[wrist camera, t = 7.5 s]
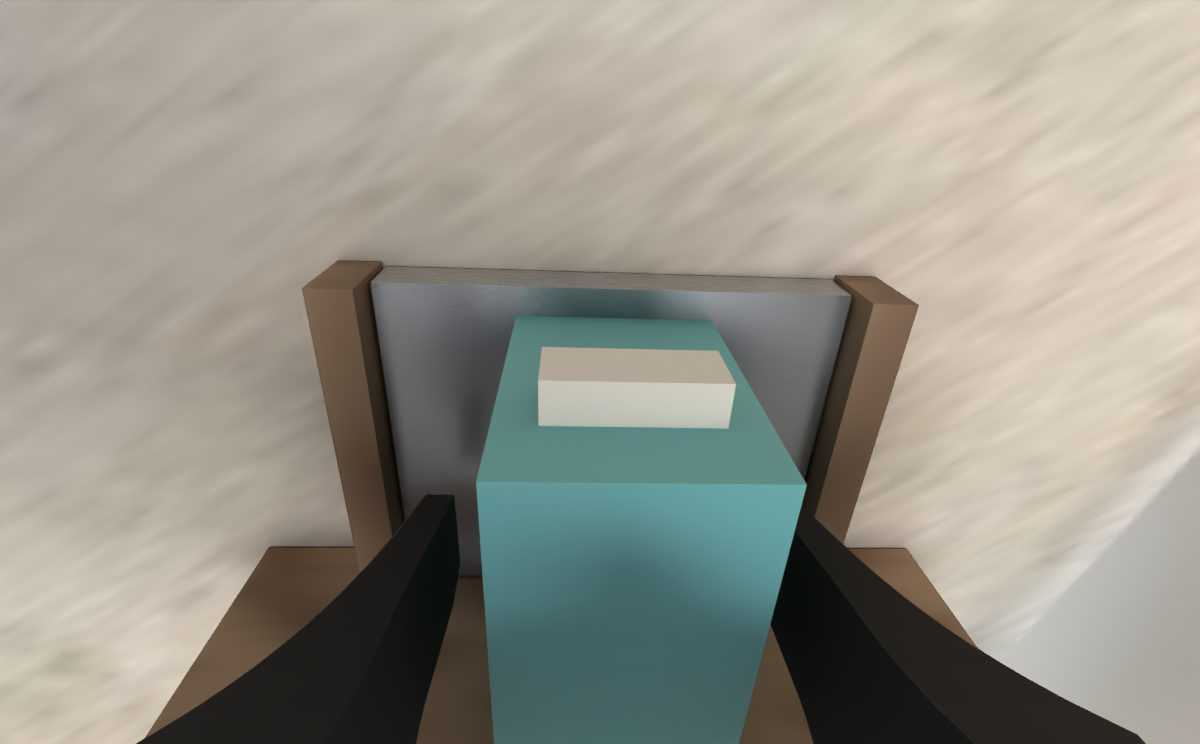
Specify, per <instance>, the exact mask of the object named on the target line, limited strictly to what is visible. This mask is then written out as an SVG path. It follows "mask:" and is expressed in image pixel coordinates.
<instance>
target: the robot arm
mask: <svg viewBox="0 0 1200 744" xmlns="http://www.w3.org/2000/svg"><path fill="white" fill-rule="evenodd" d="M459 568H460V552H459V541H458V530H457V519H456V508H455V498H454V495H428V494H427V495H426V496H425V497H424V498H422V500H421V501H420V502H419V504H418V505H417V506H416V507H415V509H414V510H413V511H412V513H411V514H410V515H409V516H408V518H407V519H406V520H405V521H404V523H403V524H402V525H401V526H400V528H399V529H398V530H397V531H396V532H395V534H394V535H393V536H392V537H391V538H390V540H389V541H388V542H387V543H386V544H385V545H384V546H383V548H382V549H381V550H380V551H379V552H378V553H377V554H376V556H375V557H374V558H373V559H372V560H371V561H370V562H369V564H368V565H367V566H366V567H365V568H364V569H363V570H362V571H361V572H360V573H359V574H358V575H357V576H356V577H355V578H354V579H353V580H352V581H351V582H350V583H349V584H348V585H347V587H346V588H345V589H344V590H343V591H342V592H341V593H340V594H339V595H338V596H337V597H336V598H335V599H334V600H332V601H331V602H330V603H329V604H328V605H327V606H326V607H325V608H324V609H323V610H322V611H321V612H320V613H319V614H318V615H316V616H315V617H314V618H313V619H312V620H311V621H310V622H309V623H307V624H306V625H305V626H304V627H303V628H302V629H301V630H299V631H298V632H297V633H296V634H295V635H293V636H292V637H291V638H290V639H288V640H287V641H286V642H285V643H284V644H282V645H281V646H280V647H279V648H277V649H276V650H275V651H274V652H272V653H271V654H270V655H269V656H267V657H266V658H265V659H264V660H262V661H261V662H260V663H258V664H257V665H256V666H255V667H253V668H252V669H251V670H249V671H248V672H246V673H245V674H244V675H242V676H241V677H239V678H238V679H236V680H235V681H234V682H232V683H231V684H229V685H228V686H227V687H225V688H224V689H222V690H221V691H219V692H218V693H216V694H215V695H213V696H212V697H210V698H209V699H207V700H206V701H204V702H203V703H201V704H200V705H198V706H197V707H195V708H194V709H192V710H191V711H189V712H188V713H186V714H184V715H183V716H181V717H180V718H178V719H176V720H175V721H173V722H171V723H170V724H168V725H166V726H165V727H163V728H161V729H160V730H158V731H156V732H155V733H153V734H151V735H150V736H148V737H146V738H145V739H143V740H142V741H140V742H138V743H137V744H416V742H417V737H418V732H419V726H420V722H421V718H422V714H423V710H424V706H425V702H426V699H427V695H428V692H429V688H430V685H431V681H432V678H433V674H434V671H435V667H436V664H437V660H438V657H439V654H440V650H441V647H442V643H443V640H444V636H445V633H446V629H447V626H448V622H449V619H450V615H451V611H452V608H453V604H454V598H455V592H456V586H457V580H458V574H459ZM770 624H771V627H772V630H773V632H774V635H775V637H776V640H777V643H778V645H779V648H780V650H781V653H782V655H783V658H784V661H785V663H786V666H787V668H788V671H789V673H790V676H791V678H792V681H793V684H794V686H795V689H796V691H797V694H798V696H799V699H800V702H801V705H802V708H803V711H804V714H805V717H806V719H807V723H808V726H809V730H810V733H811V737H812V740H813V744H1145V742H1144V741H1143V740H1142V739H1141V738H1140V737H1139V736H1138V735H1137V734H1135V733H1133V732H1131V731H1129V730H1126V729H1124V728H1123V727H1120V726H1118V725H1116V724H1114V723H1112V722H1110V721H1108V720H1106V719H1104V718H1102V717H1100V716H1098V715H1096V714H1094V713H1092V712H1090V711H1088V710H1086V709H1084V708H1081V707H1080V706H1078V705H1076V704H1073V703H1071V702H1070V701H1068V700H1066V699H1064V698H1062V697H1060V696H1058V695H1056V694H1054V693H1053V692H1051V691H1049V690H1047V689H1046V688H1044V687H1042V686H1040V685H1038V684H1036V683H1034V682H1033V681H1031V680H1029V679H1027V678H1026V677H1024V676H1022V675H1020V674H1019V673H1017V672H1015V671H1014V670H1012V669H1010V668H1008V667H1007V666H1005V665H1003V664H1002V663H1000V662H998V661H997V660H995V659H994V658H992V657H990V656H989V655H987V654H986V653H984V652H982V651H981V650H979V649H978V648H976V647H975V646H973V645H971V644H970V643H968V642H967V641H965V640H964V639H962V638H961V637H959V636H958V635H956V634H955V633H953V632H952V631H950V630H949V629H947V628H946V627H944V626H943V625H942V624H940V623H939V622H938V621H936V620H935V619H933V618H932V617H931V616H929V615H928V614H926V613H925V612H924V611H922V610H921V609H919V608H918V607H917V606H915V605H914V604H913V603H912V602H910V601H909V600H908V599H906V598H905V597H904V596H903V595H901V594H900V593H899V592H898V591H896V590H895V589H894V588H893V587H891V586H890V585H889V584H888V583H887V582H885V581H884V580H883V579H882V578H881V577H879V576H878V575H877V574H876V573H875V572H873V571H872V570H871V569H870V568H869V567H868V566H867V565H865V564H864V563H863V562H862V561H861V560H860V559H859V558H857V557H856V556H855V555H854V554H853V553H852V552H851V551H850V550H849V549H848V548H846V547H845V546H844V545H843V544H842V543H841V542H840V541H839V540H838V539H837V538H836V537H835V536H834V535H832V534H831V533H830V532H829V531H828V530H827V529H826V528H825V527H824V526H823V525H822V524H821V523H820V522H819V521H818V520H817V519H816V518H815V517H814V516H813V515H811V514H810V513H809V512H808V511H807V510H806V509H805V508H804V507H803V506H802V505H801V509H800V513H799V517H798V520H797V524H796V528H795V532H794V536H793V540H792V543H791V547H790V551H789V555H788V559H787V562H786V566H785V570H784V574H783V578H782V581H781V585H780V589H779V593H778V597H777V601H776V604H775V608H774V612H773V616H772V620H771V623H770Z"/></svg>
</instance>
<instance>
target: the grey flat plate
mask: <svg viewBox="0 0 1200 744" xmlns="http://www.w3.org/2000/svg"><path fill="white" fill-rule="evenodd" d="M370 283H371V290H372V297H373V304H374V311H375V318H376V325H377V331H378V338H379V345H380V352H381V359H382V366H383V373H384V380H385V387H386V393H387V400H388V407H389V414H390V421H391V428H392V435H393V442H394V448H395V455H396V462H397V469H398V476H399V483H400V490H401V497H402V504H403V510H404V517H405V520H406V519H407V518H408V516H409V515H410V514H411V513H412V511H413V510H414V509H415V507H416V506H417V505H418V504H419V502H420V501H421V500H422V498H424V497H425V496H426V495H427V494H428V495H454V498H455V508H456V519H457V530H458V541H459V552H460V568H459V574H458V576H482V561H481V546H480V532H479V517H478V503H477V488H476V480H477V476H478V472H479V468H480V464H481V459H482V455H483V451H484V447H485V443H486V439H487V435H488V430H489V426H490V422H491V418H492V414H493V410H494V405H495V401H496V397H497V393H498V389H499V385H500V381H501V376H502V372H503V368H504V364H505V360H506V356H507V352H508V347H509V343H510V339H511V335H512V331H513V327H514V323H515V318H516V316H547V317H586V318H625V319H665V320H704V321H712V322H713V323H714V325H715V327H716V329H717V330H718V332H719V334H720V335H721V337H722V339H723V341H724V342H725V344H726V346H727V348H728V349H729V351H730V353H731V354H732V356H733V358H734V360H735V361H736V363H737V365H738V367H739V368H740V370H741V372H742V374H743V375H744V377H745V379H746V380H747V382H748V384H749V386H750V387H751V389H752V391H753V393H754V394H755V396H756V398H757V399H758V401H759V403H760V405H761V406H762V408H763V410H764V412H765V413H766V415H767V417H768V418H769V420H770V422H771V424H772V425H773V427H774V429H775V431H776V432H777V434H778V436H779V438H780V439H781V441H782V443H783V444H784V446H785V448H786V450H787V451H788V453H789V455H790V457H791V458H792V460H793V462H794V463H795V465H796V467H797V469H798V470H799V472H800V474H801V476H802V477H803V479H804V480H805V476H806V473H807V469H808V465H809V461H810V457H811V453H812V449H813V446H814V442H815V438H816V434H817V430H818V426H819V422H820V418H821V415H822V411H823V407H824V403H825V399H826V395H827V391H828V387H829V384H830V380H831V376H832V372H833V368H834V364H835V360H836V357H837V353H838V349H839V345H840V341H841V337H842V333H843V329H844V326H845V322H846V318H847V314H848V310H849V306H850V302H851V298H852V295H851V294H849V293H848V292H847V291H845V290H844V289H843V288H841V287H840V286H839V285H838V284H836V283H835V282H834V281H832V280H831V279H799V278H765V277H732V276H699V275H665V274H632V273H599V272H565V271H532V270H499V269H465V268H432V267H399V266H386V267H385V268H384V269H383V270H382V271H381V272H380V273H379V274H378V275H377V276H376V277H375V278H374V279H373V280H372V281H371V282H370Z"/></svg>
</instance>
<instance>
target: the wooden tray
mask: <svg viewBox="0 0 1200 744" xmlns="http://www.w3.org/2000/svg"><path fill="white" fill-rule="evenodd" d="M382 270H383V269H382V262H369V261H337V262H336V263H334V264H333V265H332V266H330V267H329V268H328V269H326V270H325V271H324V272H323V273H321V274H320V275H319V276H317V277H316V278H315V279H313V280H312V281H311V282H310V283H308V284H307V285H306V286H304V287H303V288H302V291H303V296H304V301H305V305H306V310H307V315H308V320H309V325H310V330H311V335H312V340H313V345H314V350H315V355H316V360H317V365H318V369H319V374H320V379H321V384H322V389H323V394H324V399H325V404H326V409H327V414H328V419H329V424H330V429H331V433H332V438H333V443H334V448H335V453H336V458H337V463H338V468H339V473H340V478H341V483H342V488H343V493H344V497H345V502H346V507H347V512H348V517H349V522H350V527H351V532H352V537H353V542H354V547H355V548H293V547H269V548H268V550H267V551H266V553H265V554H264V556H263V557H262V559H261V560H260V562H259V563H258V565H257V567H256V568H255V570H254V571H253V573H252V574H251V576H250V577H249V579H248V580H247V582H246V583H245V585H244V587H243V588H242V590H241V591H240V593H239V594H238V596H237V597H236V599H235V600H234V602H233V603H232V605H231V606H230V608H229V610H228V611H227V613H226V614H225V616H224V617H223V619H222V620H221V622H220V623H219V625H218V626H217V628H216V630H215V631H214V633H213V634H212V636H211V637H210V639H209V640H208V642H207V643H206V645H205V646H204V648H203V650H202V651H201V653H200V654H199V656H198V657H197V659H196V660H195V662H194V663H193V665H192V666H191V668H190V669H189V671H188V673H187V674H186V676H185V677H184V679H183V680H182V682H181V683H180V685H179V686H178V688H177V689H176V691H175V693H174V694H173V696H172V697H171V699H170V700H169V702H168V703H167V705H166V706H165V708H164V709H163V711H162V713H161V714H160V716H159V717H158V719H157V720H156V722H155V723H154V725H153V726H152V728H151V729H150V731H149V733H148V734H147V736H146V737H148V736H150V735H151V734H153V733H155V732H156V731H158V730H160V729H161V728H163V727H165V726H166V725H168V724H170V723H171V722H173V721H175V720H176V719H178V718H180V717H181V716H183V715H184V714H186V713H188V712H189V711H191V710H192V709H194V708H195V707H197V706H198V705H200V704H201V703H203V702H204V701H206V700H207V699H209V698H210V697H212V696H213V695H215V694H216V693H218V692H219V691H221V690H222V689H224V688H225V687H227V686H228V685H229V684H231V683H232V682H234V681H235V680H236V679H238V678H239V677H241V676H242V675H244V674H245V673H246V672H248V671H249V670H251V669H252V668H253V667H255V666H256V665H257V664H258V663H260V662H261V661H262V660H264V659H265V658H266V657H267V656H269V655H270V654H271V653H272V652H274V651H275V650H276V649H277V648H279V647H280V646H281V645H282V644H284V643H285V642H286V641H287V640H288V639H290V638H291V637H292V636H293V635H295V634H296V633H297V632H298V631H299V630H301V629H302V628H303V627H304V626H305V625H306V624H307V623H309V622H310V621H311V620H312V619H313V618H314V617H315V616H316V615H318V614H319V613H320V612H321V611H322V610H323V609H324V608H325V607H326V606H327V605H328V604H329V603H330V602H331V601H332V600H334V599H335V598H336V597H337V596H338V595H339V594H340V593H341V592H342V591H343V590H344V589H345V588H346V587H347V585H348V584H349V583H350V582H351V581H352V580H353V579H354V578H355V577H356V576H357V575H358V574H359V573H360V572H361V571H362V570H363V569H364V568H365V567H366V566H367V565H368V564H369V562H370V561H371V560H372V559H373V558H374V557H375V556H376V554H377V553H378V552H379V551H380V550H381V549H382V548H383V546H384V545H385V544H386V543H387V542H388V541H389V540H390V538H391V537H392V536H393V535H394V534H395V532H396V531H397V530H398V529H399V528H400V526H401V525H402V524H403V523H404V521H405V517H404V510H403V504H402V497H401V490H400V483H399V476H398V469H397V462H396V455H395V448H394V442H393V435H392V428H391V421H390V414H389V407H388V400H387V393H386V387H385V380H384V373H383V366H382V359H381V352H380V345H379V338H378V331H377V325H376V318H375V311H374V304H373V297H372V290H371V283H370V282H371V281H372V280H373V279H374V278H375V277H376V276H377V275H378V274H379V273H380V272H381V271H382ZM835 283H836V284H838V285H839V286H840V287H841V288H843V289H844V290H845V291H847V292H848V293H849V294H851V295H852V298H851V302H850V306H849V310H848V314H847V318H846V322H845V326H844V329H843V333H842V337H841V341H840V345H839V349H838V353H837V357H836V360H835V364H834V368H833V372H832V376H831V380H830V384H829V387H828V391H827V395H826V399H825V403H824V407H823V411H822V415H821V418H820V422H819V426H818V430H817V434H816V438H815V442H814V446H813V449H812V453H811V457H810V461H809V465H808V469H807V473H806V476H805V480H804V481H805V482H806V484H807V486H806V490H805V494H804V498H803V501H802V506H803V507H804V508H805V509H806V510H807V511H808V512H809V513H810V514H811V515H813V516H814V517H815V518H816V519H817V520H818V521H819V522H820V523H821V524H822V525H823V526H824V527H825V528H826V529H827V530H828V531H829V532H830V533H831V534H832V535H834V536H835V537H836V538H837V539H838V540H839V541H840V542H841V543H842V544H843V543H844V540H845V537H846V533H847V530H848V527H849V524H850V521H851V518H852V514H853V511H854V508H855V505H856V502H857V499H858V495H859V492H860V489H861V486H862V483H863V480H864V477H865V473H866V470H867V467H868V464H869V461H870V458H871V454H872V451H873V448H874V445H875V442H876V439H877V436H878V432H879V429H880V426H881V423H882V420H883V417H884V413H885V410H886V407H887V404H888V401H889V398H890V395H891V391H892V388H893V385H894V382H895V379H896V376H897V372H898V369H899V366H900V363H901V360H902V357H903V354H904V350H905V347H906V344H907V341H908V338H909V335H910V331H911V328H912V325H913V322H914V319H915V316H916V312H917V309H918V306H919V305H918V304H916V303H915V302H913V301H911V300H910V299H908V298H907V297H905V296H904V295H902V294H901V293H899V292H898V291H896V290H895V289H893V288H892V287H890V286H888V285H887V284H885V283H884V282H882V281H881V280H879V279H878V278H876V277H863V276H836V277H835ZM849 550H850V551H851V552H852V553H853V554H854V555H855V556H856V557H857V558H859V559H860V560H861V561H862V562H863V563H864V564H865V565H867V566H868V567H869V568H870V569H871V570H872V571H873V572H875V573H876V574H877V575H878V576H879V577H881V578H882V579H883V580H884V581H885V582H887V583H888V584H889V585H890V586H891V587H893V588H894V589H895V590H896V591H898V592H899V593H900V594H901V595H903V596H904V597H905V598H906V599H908V600H909V601H910V602H912V603H913V604H914V605H915V606H917V607H918V608H919V609H921V610H922V611H924V612H925V613H926V614H928V615H929V616H931V617H932V618H933V619H935V620H936V621H938V622H939V623H940V624H942V625H943V626H944V627H946V628H947V629H949V630H950V631H952V632H953V633H955V634H956V635H958V636H959V637H961V638H962V639H964V640H965V641H967V642H968V643H970V644H971V645H973V646H975V647H976V645H975V644H974V642H973V641H972V640H971V638H970V637H969V635H968V634H967V633H966V631H965V630H964V628H963V627H962V626H961V624H960V623H959V621H958V620H957V619H956V617H955V616H954V614H953V613H952V612H951V610H950V609H949V607H948V606H947V605H946V603H945V602H944V600H943V599H942V598H941V596H940V595H939V593H938V592H937V591H936V589H935V588H934V586H933V585H932V584H931V582H930V581H929V579H928V578H927V576H926V575H925V574H924V572H923V571H922V569H921V568H920V567H919V565H918V564H917V562H916V561H915V560H914V558H913V557H912V555H911V554H910V553H909V551H908V550H907V549H849ZM976 648H977V647H976ZM146 737H145V738H146ZM416 744H494V736H493V721H492V707H491V692H490V678H489V663H488V648H487V634H486V619H485V605H484V590H483V576H458V580H457V586H456V592H455V598H454V604H453V608H452V611H451V615H450V619H449V622H448V626H447V629H446V633H445V636H444V640H443V643H442V647H441V650H440V654H439V657H438V660H437V664H436V667H435V671H434V674H433V678H432V681H431V685H430V688H429V692H428V695H427V699H426V702H425V706H424V710H423V714H422V718H421V722H420V726H419V732H418V737H417V742H416ZM739 744H813V740H812V737H811V733H810V730H809V726H808V723H807V719H806V717H805V714H804V711H803V708H802V705H801V702H800V699H799V696H798V694H797V691H796V689H795V686H794V684H793V681H792V678H791V676H790V673H789V671H788V668H787V666H786V663H785V661H784V658H783V655H782V653H781V650H780V648H779V645H778V643H777V640H776V637H775V635H774V632H773V630H772V627H771V624H770V627H769V631H768V635H767V639H766V643H765V646H764V650H763V654H762V658H761V662H760V665H759V669H758V673H757V677H756V681H755V685H754V688H753V692H752V696H751V700H750V704H749V707H748V711H747V715H746V719H745V723H744V727H743V730H742V734H741V738H740V742H739Z"/></svg>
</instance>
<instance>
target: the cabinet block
mask: <svg viewBox="0 0 1200 744" xmlns="http://www.w3.org/2000/svg"><path fill="white" fill-rule="evenodd" d="M806 486H807V484H806V482H805V481H804V479H803V477H802V476H801V474H800V472H799V470H798V469H797V467H796V465H795V463H794V462H793V460H792V458H791V457H790V455H789V453H788V451H787V450H786V448H785V446H784V444H783V443H782V441H781V439H780V438H779V436H778V434H777V432H776V431H775V429H774V427H773V425H772V424H771V422H770V420H769V418H768V417H767V415H766V413H765V412H764V410H763V408H762V406H761V405H760V403H759V401H758V399H757V398H756V396H755V394H754V393H753V391H752V389H751V387H750V386H749V384H748V382H747V380H746V379H745V377H744V375H743V374H742V372H741V370H740V368H739V367H738V365H737V363H736V361H735V360H734V358H733V356H732V354H731V353H730V351H729V349H728V348H727V346H726V344H725V342H724V341H723V339H722V337H721V335H720V334H719V332H718V330H717V329H716V327H715V325H714V323H713V322H712V321H704V320H665V319H625V318H586V317H547V316H516V318H515V323H514V327H513V331H512V335H511V339H510V343H509V347H508V352H507V356H506V360H505V364H504V368H503V372H502V376H501V381H500V385H499V389H498V393H497V397H496V401H495V405H494V410H493V414H492V418H491V422H490V426H489V430H488V435H487V439H486V443H485V447H484V451H483V455H482V459H481V464H480V468H479V472H478V476H477V480H476V488H477V503H478V517H479V532H480V546H481V561H482V576H483V590H484V605H485V619H486V634H487V648H488V663H489V678H490V692H491V707H492V721H493V736H494V744H739V742H740V738H741V734H742V730H743V727H744V723H745V719H746V715H747V711H748V707H749V704H750V700H751V696H752V692H753V688H754V685H755V681H756V677H757V673H758V669H759V665H760V662H761V658H762V654H763V650H764V646H765V643H766V639H767V635H768V631H769V627H770V623H771V620H772V616H773V612H774V608H775V604H776V601H777V597H778V593H779V589H780V585H781V581H782V578H783V574H784V570H785V566H786V562H787V559H788V555H789V551H790V547H791V543H792V540H793V536H794V532H795V528H796V524H797V520H798V517H799V513H800V509H801V505H802V501H803V498H804V494H805V490H806Z"/></svg>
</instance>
